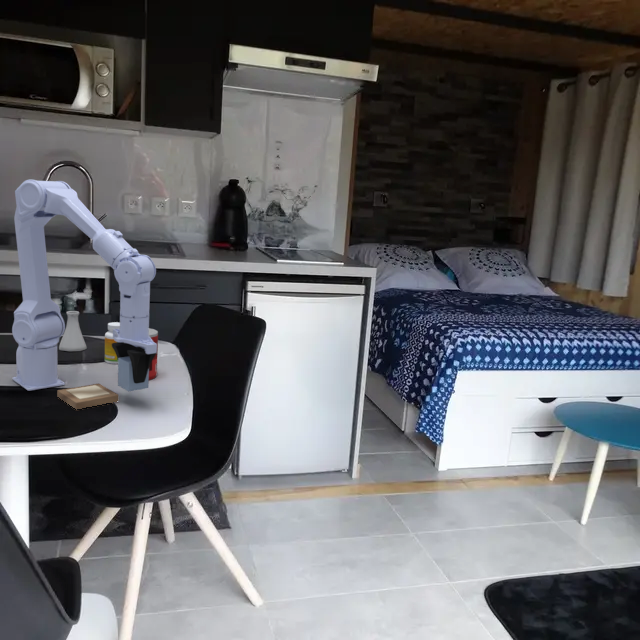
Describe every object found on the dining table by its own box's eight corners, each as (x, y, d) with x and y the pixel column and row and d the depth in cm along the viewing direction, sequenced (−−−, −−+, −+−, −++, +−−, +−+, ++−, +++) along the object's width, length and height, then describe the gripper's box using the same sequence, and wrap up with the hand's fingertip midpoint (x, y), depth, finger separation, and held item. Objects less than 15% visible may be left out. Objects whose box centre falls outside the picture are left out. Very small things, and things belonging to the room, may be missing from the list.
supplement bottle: (117, 365, 157) (118, 327, 155) (99, 362, 159) (100, 324, 157) (131, 360, 162) (131, 323, 160) (113, 357, 164) (114, 320, 162)
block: (117, 385, 132) (118, 357, 131) (137, 382, 135) (138, 355, 134) (128, 391, 129) (129, 363, 128) (148, 387, 132) (149, 360, 131)
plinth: (57, 397, 132) (57, 389, 131) (98, 390, 138) (98, 382, 138) (76, 410, 126) (76, 401, 125) (118, 402, 132) (118, 394, 132)
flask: (62, 344, 171) (62, 308, 169) (90, 346, 172) (90, 310, 170) (54, 351, 164) (54, 314, 162) (83, 353, 165) (83, 315, 163)
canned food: (143, 369, 155) (144, 325, 153) (163, 377, 150) (165, 332, 148) (116, 375, 149) (116, 329, 147) (136, 383, 145) (137, 336, 142)
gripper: (99, 309, 131) (98, 372, 134) (134, 324, 121) (133, 392, 124) (130, 307, 136) (129, 368, 139) (166, 321, 126) (164, 386, 129)
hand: (133, 379), depth 132 cm, fingers closed on block, 4 cm apart
